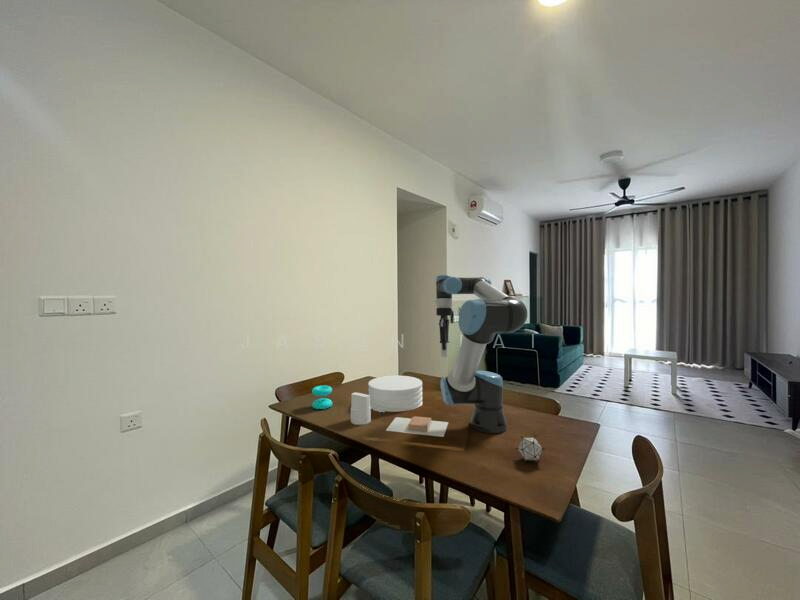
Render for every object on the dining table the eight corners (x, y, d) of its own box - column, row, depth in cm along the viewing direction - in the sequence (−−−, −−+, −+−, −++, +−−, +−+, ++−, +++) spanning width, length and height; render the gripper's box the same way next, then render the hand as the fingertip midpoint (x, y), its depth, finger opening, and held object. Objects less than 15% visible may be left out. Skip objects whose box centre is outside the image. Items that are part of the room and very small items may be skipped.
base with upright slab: (374, 419, 151) (374, 393, 151) (361, 426, 143) (361, 399, 143) (359, 415, 156) (359, 390, 156) (346, 421, 148) (346, 395, 148)
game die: (531, 468, 115) (542, 441, 118) (541, 472, 107) (553, 443, 110) (508, 454, 117) (519, 427, 120) (516, 456, 109) (528, 428, 112)
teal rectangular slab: (431, 417, 143) (427, 426, 134) (431, 423, 143) (427, 432, 134) (413, 416, 145) (408, 424, 137) (413, 421, 145) (408, 430, 137)
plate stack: (405, 418, 153) (404, 393, 153) (357, 407, 167) (357, 385, 167) (431, 400, 177) (431, 379, 176) (388, 392, 191) (387, 373, 191)
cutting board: (448, 424, 144) (448, 422, 144) (443, 439, 130) (443, 436, 130) (395, 419, 151) (395, 417, 151) (385, 432, 136) (385, 430, 136)
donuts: (308, 387, 168) (324, 383, 175) (308, 407, 168) (325, 402, 175) (319, 391, 161) (336, 387, 168) (319, 412, 161) (336, 406, 168)
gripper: (439, 307, 167) (439, 354, 166) (433, 307, 154) (433, 358, 154) (454, 307, 164) (454, 355, 163) (449, 307, 152) (449, 358, 151)
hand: (444, 356), depth 158 cm, fingers closed
